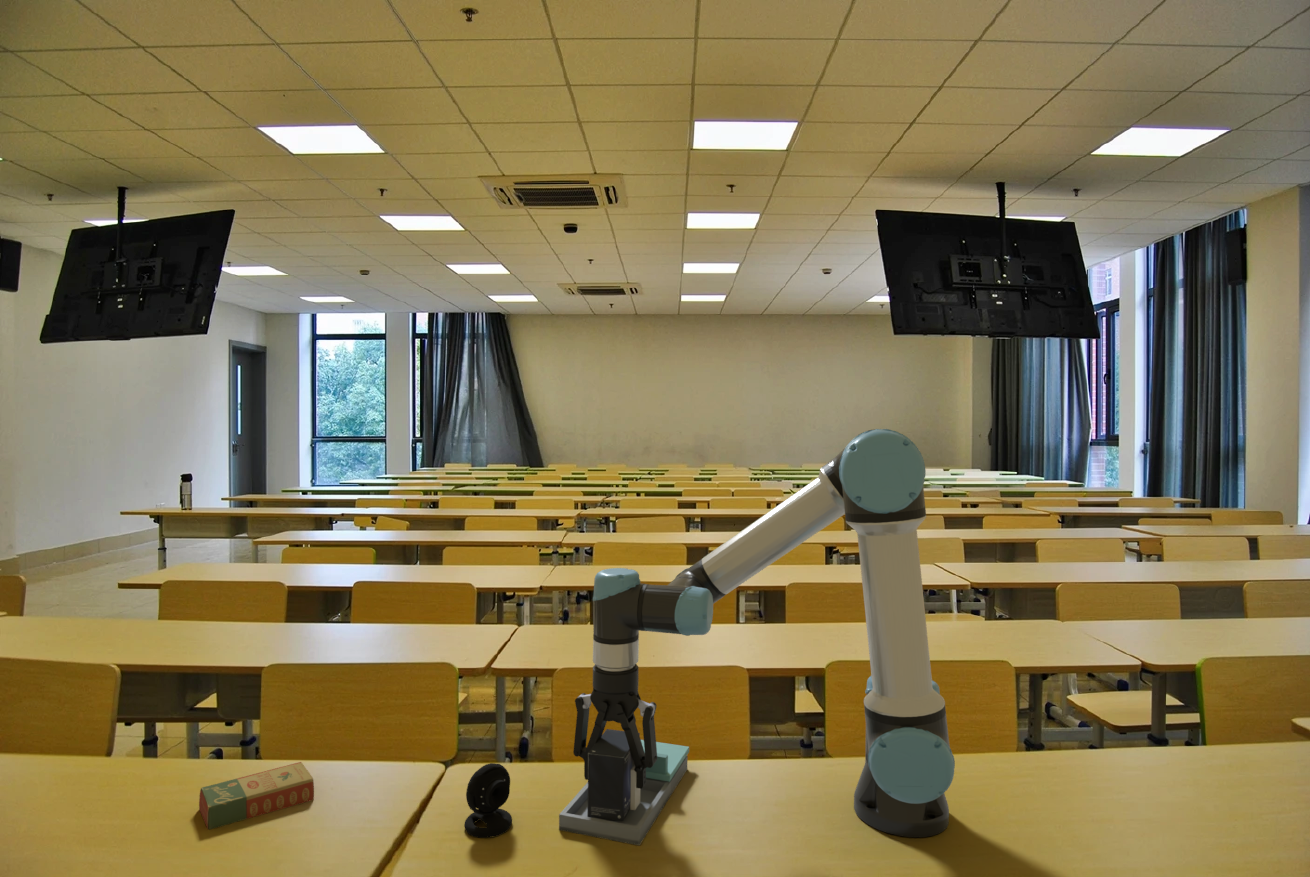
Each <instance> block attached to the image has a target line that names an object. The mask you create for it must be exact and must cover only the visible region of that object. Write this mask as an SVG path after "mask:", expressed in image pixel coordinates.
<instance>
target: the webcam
mask: <svg viewBox="0 0 1310 877" xmlns="http://www.w3.org/2000/svg"><path fill="white" fill-rule="evenodd" d="M510 788H511V778H510V774H509V772H508V770H507V768H505V766H504V765H503V764H500V763H493V762H491V763H487V764H484V765H482V766H481V767H480V768H478V769H477V770H476V771H475V772H474V773H473V774H472V776H471V777H470V779H469V781H468V784H467V787H466V792H465V797H466V802H467V806H468V807H469V808H470V810H471V811H472V813H470V814H469V815H468V816H467V817H466V819H465V820H464V826H463V827H464V831H465V832H466V833H467V834H469V835H470V836H472V837H475V838H480V839H482V838H484V839H486V838H495V837H498V836H500V835H503V834H504V833H506V832H507V831H509V829H511V826H512V824H513V818H512V815H511V813H510V812H509V811H508V810H505V809H502V808H501V807H502V806H503V805H505V803H506V802H507V800H508V799H509V796H510V790H511V789H510ZM478 821H481V822H482V823H484V824H485V825H486V827H482V826H481V827H480V826H477V825H475V823H476V822H478Z"/></svg>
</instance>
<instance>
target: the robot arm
mask: <svg viewBox="0 0 1310 877" xmlns="http://www.w3.org/2000/svg"><path fill="white" fill-rule="evenodd" d="M925 478H926V464H925V460H924V457H923V455H922V453H921V451H920V449H919V447H918V446H917V445H916V443H914V442H913V441H912V440H911V438H909V437H908V436H906V435H905V434H902V433H900V432H898V431H897V430H892V429H888V428H882V429H881V428H875V429H874V428H873V429H870V430H865V431H863V432H861V433H859V434H858V435H856V436H854V437H853V438H851V440H850V441H849V443H847V445H846V446H845V447H844V448H843V449H842V450H841V451H840V452H839V453H837V455H835V457H834V458H832V459H830V461H828V462H827V463H826V464H825V465H824V464H823V466H822V467H820V468H819V473H818V477H815V479H813V480H812V481H810V482H809V483H807V484H806V485H805V486H803V487H802V488H801V489H799V490H797V491H796V492H795V493H794V494H792V495H790V496H789V497H787V498H786V499H785V500H784V501H782V502H780V503H779V504H778V505H775V507H774V508H771V510H769V511H768V512H766V513H765V514H763V515H762V516H761V517H759V518H758V519H756V520H755V521H754V522H752V523H751V524H749V525H747V526H746V527H745V528H743V529H742V530H741V531H739V532H738V533H737V534H735V535H734V536H732V537H731V538H729V539H728V540H726V541H725V542H724V543H722V544H720V546H718V547H717V548H715V549H714V550H712V551H711V552H709V553H708V554H706V555H705V556H703V558H701V559H700V560H698V561H697V562H695V563H694V564H692V565H691V566H689V567H688V568H687V567H686V568H685V569H682V571H681V572H680V573H678V574H677V575H676V576H675V578H674V579H672V581H670V582H669V583H668V584H667V585H665V584H663V585H662V584H649V583H648V584H647V583H642V582H641V579H640V574H639V572H638V571H636V570H635V569H632V568H631V569H628V568H626V567H625V568H624V567H614V568H613V567H612V568H606V569H602V570H600V571H598V572H597V573H596V574H595V577H594V581H593V582H594V583H593V595H592V612H593V613H592V615H593V618H592V619H593V624H592V625H593V631H592V632H593V635H592V636H593V637H592V638H593V640H592V642H593V643H592V663H593V664H594V665H593V666H592V692H591V693H589V694H587V693H585V692H584V693H581V694H580V695H578V696H577V697H576V698H575V699H574V704H575V708H576V719H575V720H576V721H575V733H574V741H573V742H574V743H573V752H572V753H573V755H574V757H579V758H582V759H583V762H584V764H583V765H584V766H583V767H584V768H583V769H584V773H583V774H584V775H583V776H584V780H587V781H588V752H589V751H590V750H591V749H592V747H593V746H594V745H595V744H596V743H597V741H598V740H599V739H600V738H601V737H602V735H603V733H604V732H605V728H606V726H607V723H608V722H615V723H618V724H620V727H621V730H622V731H624V732H625V735H626V738H627V742H628V745H629V748H630V751H631V755H632V758H633V761H634V764H635V765H634V766H633V768H632V769H631V802H630V810H635V809H636V808H637V806H638V805H639V804H640V789H642V788H643V787H644V785H645V783H646V768H647V767H648V768H651V767H652V766H653V765H654V764H655V762H656V761H657V748H656V742H657V737H656V723H655V714H656V709H657V703H656V702H654V701H651V702H650V703H649V702H646V701H644V700H642V699H641V696H640V694H639V666H638V663H639V653H640V652H639V646H640V644H639V643H640V642H639V640H640V639H639V638H640V634H639V631H641V632H652V633H653V632H654V633H663V634H672V635H673V634H674V635H675V634H676V635H682V636H686V637H689V636H705V635H706V634H708V633H710V630H711V628H712V623H713V616H714V604H715V603H717V602H718V601H719V600H721V599H723V598H724V597H725V596H726V595H727V594H729V593H731V592H732V591H734V589H737V588H738V587H739V586H741V585H742V584H744V583H745V582H747V581H748V580H750V579H751V578H753V577H754V576H755V575H757V574H759V573H760V572H761V571H763V570H764V569H766V568H767V567H768V566H771V565H772V564H773V563H775V562H776V561H778V560H780V559H781V558H782V557H784V556H785V555H787V554H789V553H790V552H791V551H793V550H794V549H795V548H797V547H798V546H800V545H801V544H803V543H804V542H806V541H807V540H809V539H811V538H812V537H813V536H815V535H816V534H817V533H818V532H820V531H822V530H823V529H825V528H827V527H828V526H830V525H831V524H832V523H834V522H835V521H837V520H838V519H839V518H841V517H843V516H845V523H846V524H847V525H848V526H850V527H851V528H852V529H853V530H854V531H855V532H856V534H857V543H858V554H859V563H860V564H859V565H860V573H861V574H860V575H861V583H862V593H863V594H862V595H863V603H864V612H865V613H864V615H865V623H866V624H865V626H866V633H867V634H866V635H867V643H868V654H869V663H870V673H871V674H870V676H869V677H868V678H867V681H866V689H865V690H864V692H865V694H866V695H865V697H864V698H863V706H864V707H863V708H864V718H865V760H864V764H863V768H862V770H861V773H860V775H859V776H860V777H859V779H858V782H857V785H856V788H855V790H854V794H853V810H854V812H855V814H856V815H857V817H858V818H859V819H860V820H862V821H863V822H864V824H867V825H868V826H870V827H872V828H874V829H876V830H878V831H881V832H883V833H887V834H891V835H894V836H900V837H906V838H927V837H932V836H936V835H939V834H940V833H942V832H944V831H946V829H947V828H948V827H949V823H950V821H949V818H950V814H949V813H950V809H949V804H948V800H947V797H946V791H948V789H949V788H950V786H951V785H952V783H953V779H954V776H955V764H956V763H955V762H956V760H955V756H954V754H953V752H952V749H951V747H950V740H949V738H950V737H949V730H948V720H947V710H946V701H945V699H944V697H943V696H942V695H941V693H940V686H939V684H938V683H937V682H936V681H934V680H933V678H932V677H933V676H932V667H931V661H930V650H929V649H930V648H929V640H928V638H929V637H928V630H927V619H926V618H927V617H926V610H925V598H924V591H923V588H924V587H923V581H922V580H923V578H922V571H921V570H922V569H921V568H922V567H921V560H920V558H921V557H920V549H919V540H918V531H917V530H918V528H919V527H920V525H921V524H922V523H923V522H924V521H925V519H927V511H926V509H927V508H926V501H925V500H926V499H925V491H924V484H925V482H926V479H925ZM592 704H593V706H594V708H595V710H596V711H597V714H596V718H595V721H594V726H593V729H592V731H591V733H590V738H589V740H587V738H588V737H587V736H588V727H589V718H590V707H591V705H592ZM637 709H639V710H640V712H639V713H640V716H641V717H642V721H641V722H642V723H641V724H642V733H643V736H642V737H643V740H644V749H645V752H644V749H643V746H642V743H641V740H642V739H641V737H640V736H639V733H640V732H639V731H638V727H637V724H636V722H637V721H636V716H635V712H636V711H637ZM587 741H588V743H587Z"/></svg>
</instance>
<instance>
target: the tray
mask: <svg viewBox="0 0 1310 877" xmlns="http://www.w3.org/2000/svg"><path fill="white" fill-rule="evenodd" d="M687 771H688V755H687V756H686V757H685V759H684V760H683V762H682V764H681V765H680V767H679V768H678V770H677V771H676V773H675V774H674V776H673V777H672V779H671V780H670V782H669V781H662V780H656V779H650V778H646V783H645V785H644V787H643V788H642V789H640V804H639V805H638V806H637V808H636V809H635V810H629V812H628V814H627V815H626V817H625V819H624V821H615V820H607V819H600V818H591V817H587V812H588V781H587V782H586V784H584V786H583V787H582V788H581V789H580V790H579V791H578V792H577V794H576V795H575V796H574V797H572V799H571V800H570V801H569V803H568V804H567V805H566V806H565V807H564V808H563V810H562V811H560V813H559V815H558V830H559V831H562V832H568V833H572V834H579V835H583V836H584V835H585V836H589V837H593V838H600V839H604V840H609V841H615V842H620V843H625V844H631V845H634V846H635V845H636V846H640V845H641V844H642V842H643V841H644V839H645V838H646V835H648V832H649V831H650V830H651V828H652V827H653V825H654V823H655V822H656V820H657V818H658V817H659V815H660V814H661V812H662V811H663V809H664V807H665V805H667V802H668V801H669V799H670V798H671V796H672V794H673V793H674V792H675V789H676V788H677V786H678V785H679V783H680V782H681V780H682V779H683V777H684V775H685V773H687Z"/></svg>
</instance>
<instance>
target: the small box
mask: <svg viewBox="0 0 1310 877" xmlns="http://www.w3.org/2000/svg"><path fill="white" fill-rule="evenodd" d="M638 733H639V736H640V735H641V733H640V732H638ZM634 765H635V764H634V761H633V758H632V755H631V751H630V748H629V745H628V742H627V738H626V735H625V732H624V730H617V729H610V728H607V729H605V730H604V731H603V734H602V737H601V738H600V739H599V740H598V741H597V743H596V744H595V745H594V746H593V747H592V749H591V750H590V751H589V752H588V780H587V782H588V812H587V817H591V818H600V819H607V820H615V821H624V819H625V817H626V815H627V814H628V812H629V810H630V802H631V769H632V768H633V766H634Z"/></svg>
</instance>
